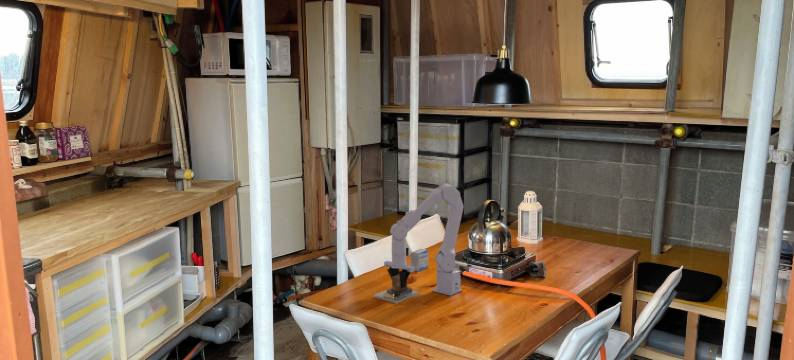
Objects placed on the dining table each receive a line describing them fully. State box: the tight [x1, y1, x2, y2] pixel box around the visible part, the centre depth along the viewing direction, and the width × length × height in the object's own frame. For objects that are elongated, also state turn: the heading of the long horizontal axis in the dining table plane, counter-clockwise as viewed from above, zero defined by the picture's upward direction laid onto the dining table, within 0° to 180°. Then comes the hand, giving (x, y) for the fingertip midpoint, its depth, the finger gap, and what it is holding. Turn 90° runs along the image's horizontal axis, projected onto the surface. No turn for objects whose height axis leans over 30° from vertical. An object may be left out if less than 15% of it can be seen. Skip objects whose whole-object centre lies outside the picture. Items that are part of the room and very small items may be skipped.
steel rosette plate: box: [373, 286, 420, 304], centre depth 246 cm, size 12×14×2 cm
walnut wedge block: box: [391, 275, 408, 292], centre depth 247 cm, size 4×5×6 cm
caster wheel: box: [524, 260, 547, 278], centre depth 271 cm, size 7×11×10 cm
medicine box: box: [410, 248, 429, 273], centre depth 282 cm, size 8×4×9 cm, turn 143°
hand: (399, 286), depth 247 cm, fingers closed on walnut wedge block, 4 cm apart
